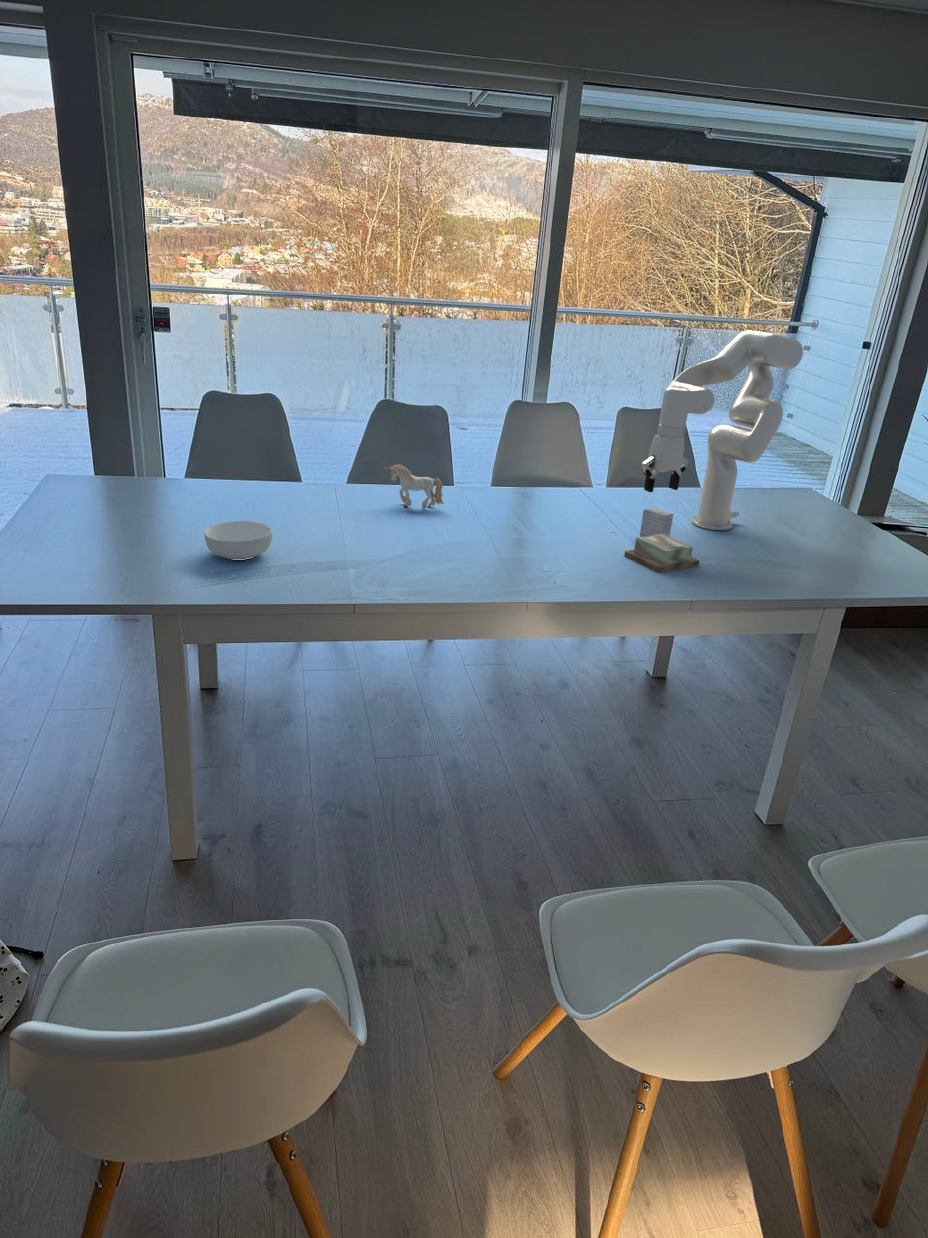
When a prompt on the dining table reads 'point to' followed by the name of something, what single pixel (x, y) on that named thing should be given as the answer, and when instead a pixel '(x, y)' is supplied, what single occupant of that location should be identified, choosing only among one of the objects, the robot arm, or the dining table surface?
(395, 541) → the dining table surface
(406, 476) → the unicorn figurine
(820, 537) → the dining table surface
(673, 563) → the base board
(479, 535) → the dining table surface
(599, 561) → the dining table surface
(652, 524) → the medicine box
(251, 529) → the cereal bowl
